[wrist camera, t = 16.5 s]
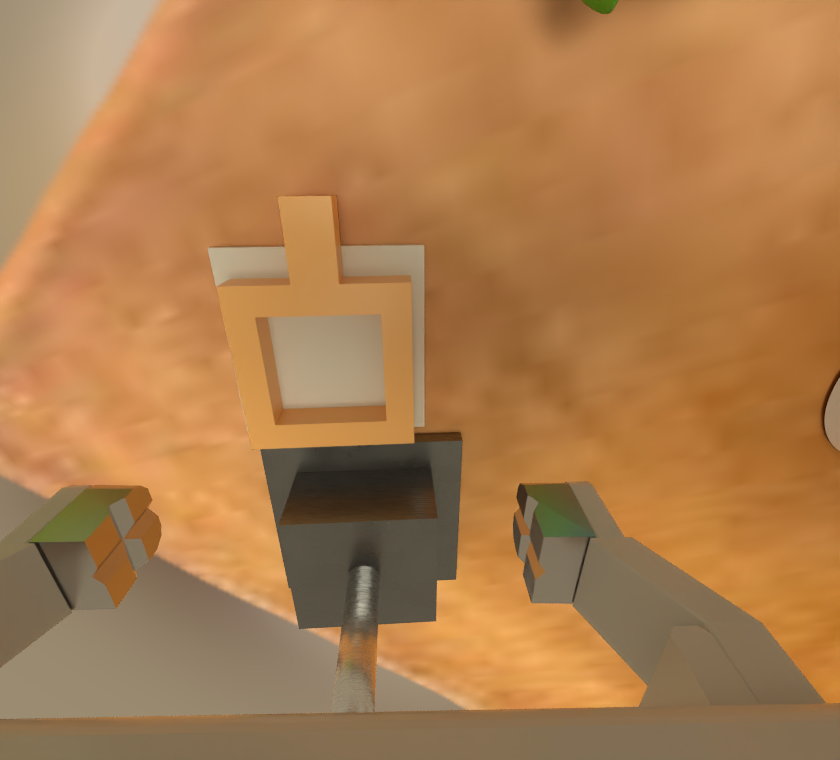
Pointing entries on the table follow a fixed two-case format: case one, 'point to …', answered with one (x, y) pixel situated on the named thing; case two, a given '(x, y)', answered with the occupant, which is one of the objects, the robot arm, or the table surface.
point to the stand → (366, 542)
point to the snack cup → (601, 5)
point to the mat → (334, 329)
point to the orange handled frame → (317, 296)
